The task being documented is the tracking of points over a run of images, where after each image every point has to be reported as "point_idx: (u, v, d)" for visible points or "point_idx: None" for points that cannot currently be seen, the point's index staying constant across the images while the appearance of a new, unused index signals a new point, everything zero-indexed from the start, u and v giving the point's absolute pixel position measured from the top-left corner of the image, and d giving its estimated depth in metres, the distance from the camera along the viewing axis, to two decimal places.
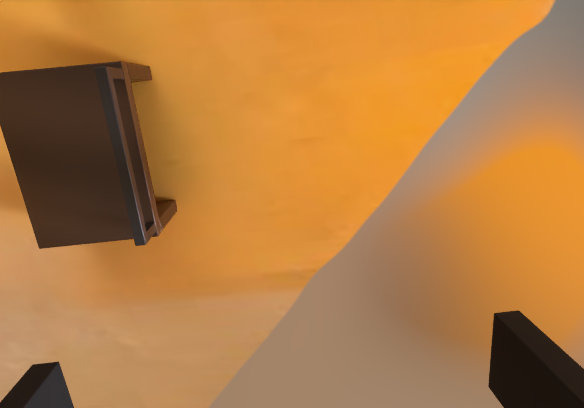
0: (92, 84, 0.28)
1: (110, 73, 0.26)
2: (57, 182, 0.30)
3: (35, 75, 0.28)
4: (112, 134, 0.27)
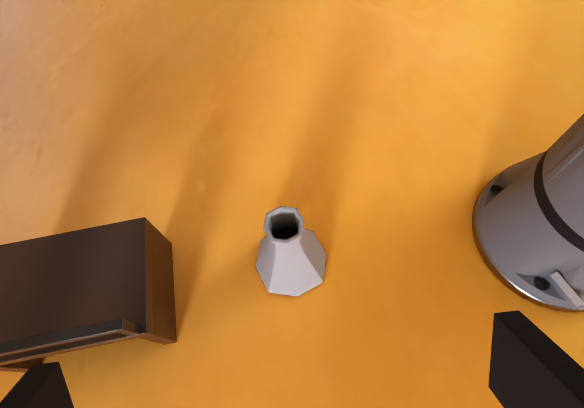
0: (128, 305, 0.30)
1: (120, 331, 0.27)
2: (45, 268, 0.32)
3: (140, 256, 0.32)
4: (59, 333, 0.27)
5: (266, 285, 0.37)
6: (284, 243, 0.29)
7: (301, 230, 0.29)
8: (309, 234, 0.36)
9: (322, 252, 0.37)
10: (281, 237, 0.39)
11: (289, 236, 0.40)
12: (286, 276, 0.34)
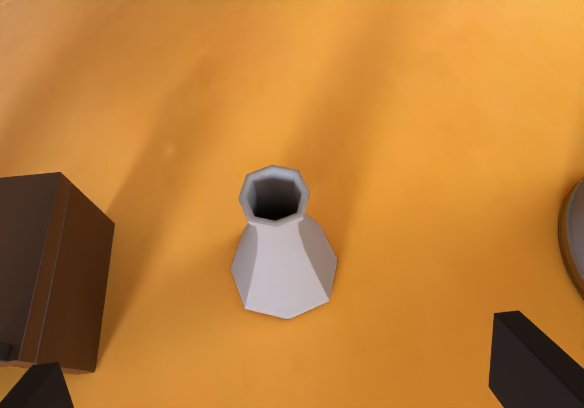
0: (0, 309, 0.18)
1: None
2: None
3: (39, 231, 0.20)
4: None
5: (242, 297, 0.24)
6: (271, 226, 0.16)
7: (303, 207, 0.17)
8: (315, 225, 0.24)
9: (332, 255, 0.24)
10: None
11: None
12: (273, 286, 0.22)
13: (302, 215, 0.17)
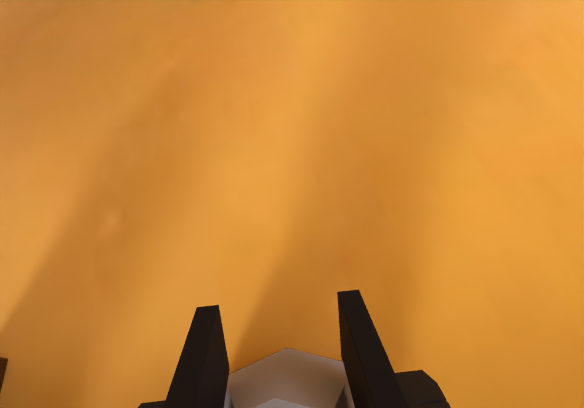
0: None
1: None
2: None
3: None
4: None
5: None
6: None
7: None
8: None
9: None
10: None
11: None
12: None
13: None
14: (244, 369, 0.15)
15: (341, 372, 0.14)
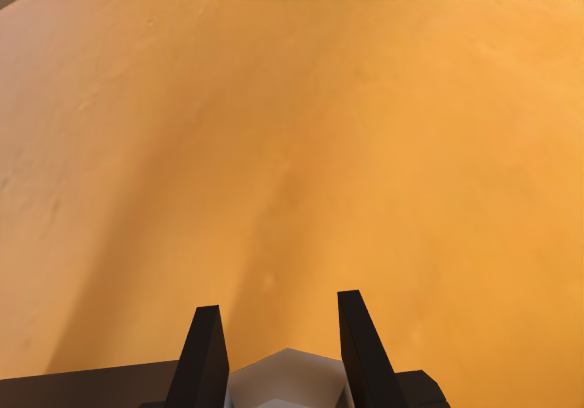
0: None
1: None
2: None
3: None
4: None
5: None
6: None
7: None
8: None
9: None
10: None
11: None
12: None
13: None
14: (244, 369, 0.15)
15: (341, 372, 0.14)
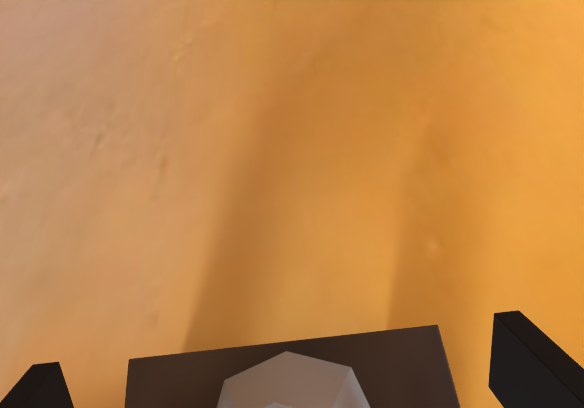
0: None
1: None
2: None
3: None
4: None
5: None
6: None
7: None
8: (350, 402, 0.13)
9: None
10: None
11: None
12: None
13: None
14: (245, 372, 0.16)
15: (338, 375, 0.15)
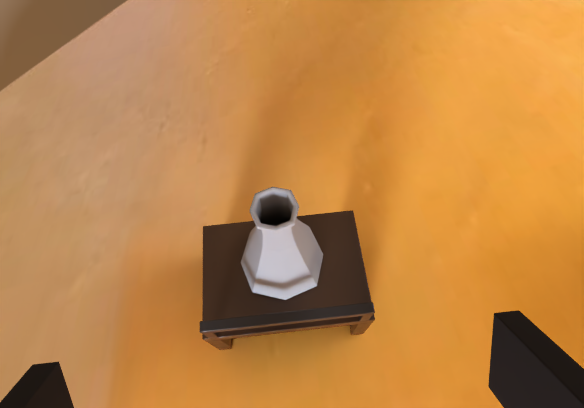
0: (352, 291, 0.32)
1: (368, 314, 0.29)
2: None
3: (356, 247, 0.34)
4: (314, 311, 0.28)
5: (250, 283, 0.32)
6: (272, 230, 0.24)
7: (294, 216, 0.24)
8: (305, 228, 0.31)
9: (318, 251, 0.32)
10: None
11: None
12: (274, 273, 0.29)
13: (293, 222, 0.24)
14: None
15: None
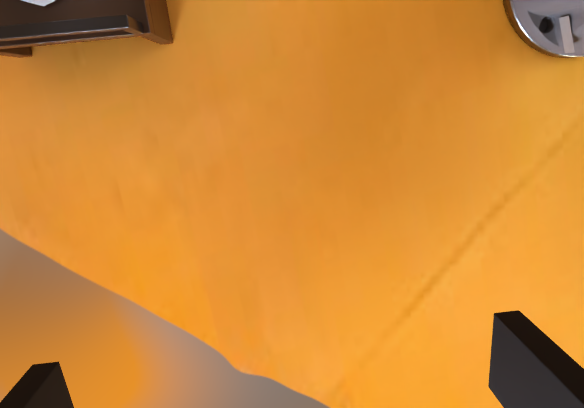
0: None
1: (125, 29, 0.26)
2: None
3: None
4: (59, 24, 0.25)
5: None
6: None
7: None
8: None
9: None
10: None
11: None
12: None
13: None
14: None
15: None
